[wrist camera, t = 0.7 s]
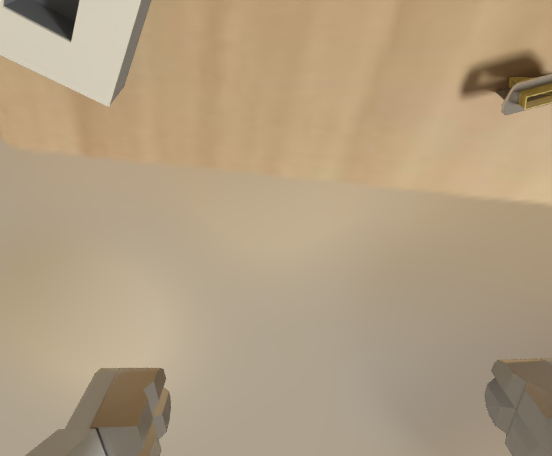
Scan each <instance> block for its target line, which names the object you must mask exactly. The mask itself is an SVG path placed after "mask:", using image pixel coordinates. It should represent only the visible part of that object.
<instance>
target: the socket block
mask: <svg viewBox="0 0 552 456" xmlns="http://www.w3.org/2000/svg"><path fill="white" fill-rule="evenodd" d="M150 2H151V0H0V55H1V56H3V57H5V58H7V59H10V60H12V61H14V62H16V63H18V64H20V65H22V66H24V67H26V68H28V69H30V70H33V71H35V72H37V73H39V74H41V75H43V76H45V77H47V78H49V79H51V80H53V81H56V82H58V83H60V84H62V85H64V86H66V87H68V88H70V89H72V90H74V91H76V92H79V93H81V94H83V95H85V96H87V97H89V98H91V99H93V100H95V101H97V102H100V103H102V104H104V105H106V106H108V107H109V106H110V104H111V103H112V102H113V100H114V99H115V98H116V96H117V95H118V94H119V92H120V91H121V90H122V88H123V87H124V85H125V81H126V78H127V75H128V72H129V69H130V66H131V62H132V59H133V56H134V53H135V50H136V47H137V44H138V40H139V37H140V34H141V31H142V28H143V25H144V21H145V18H146V15H147V12H148V9H149V6H150Z"/></svg>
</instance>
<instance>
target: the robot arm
mask: <svg viewBox="0 0 552 456" xmlns="http://www.w3.org/2000/svg"><path fill="white" fill-rule="evenodd" d="M491 371H492V373H493V375H494V376H495V378H494V379H493V380H492V381H491V382H489V383H488V384H487V387H486V391H485V401H486V407H487V410H488V413H489V416H490V417H491V419H492V421H493V423H494V425H495V426H497V427H498V428H499V429H501V430H502V431H504V432H505V433H506V440H505V444H506V446H507V447H508V449H509V451H510V453H511V454H512V456H552V358H540V359H537V358H534V359H533V358H532V359H504V360H497V361H496V362H495V363H494V365H493V368H492V370H491ZM165 380H166V377H165V373H164V369H161V368H101V369H100V370H98V371H97V372H96V373H95V374H94V377H93V378H92V380H91V382H90V384H89V385H88V387H87V389H86V391H85V393H84V395H83V396H82V398H81V400H80V402H79V404H78V406H77V407H76V409H75V411H74V413H73V415H72V417H71V418H70V420H69V422H68V424H67V426H66V428H65V429H59V430H57V431H56V432H54V433H53V434H52V435H51V436H49V437H48V438H47V439H46V440H44V441H43V442H42V443H40V444H39V445H38V446H37V447H35V448H34V449H33V450H31V451H30V452H29V453H28V454H26V455H25V456H160V453H161V447H160V443H159V439H160V438H161V437H162V436H163V435H164V433H166V432H167V428H168V424H169V419H170V410H171V401H170V394H169V391H168V390H167V389H165V388H164V383H165Z"/></svg>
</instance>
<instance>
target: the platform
mask: <svg viewBox="0 0 552 456" xmlns="http://www.w3.org/2000/svg"><path fill="white" fill-rule="evenodd" d="M513 79H514V80H513ZM512 86H513V87H512ZM496 93H497V94H498V95H500V96H501V97H502V98H503V99H504V102H503V104H502V109H501V112H502V113H503V114H504V115H509V114H513V113H517V112H520V111H524V110H528V109H532V108H536V107H540V106H544V105H548V104H552V74H549V75H545V76H541V77H537V78H534V77H531V78H529V77H528V78H525V77H524V78H523V77H512V76H511V77H510V79H509V87H508V88H507V89H503V90H500V91H496Z"/></svg>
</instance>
